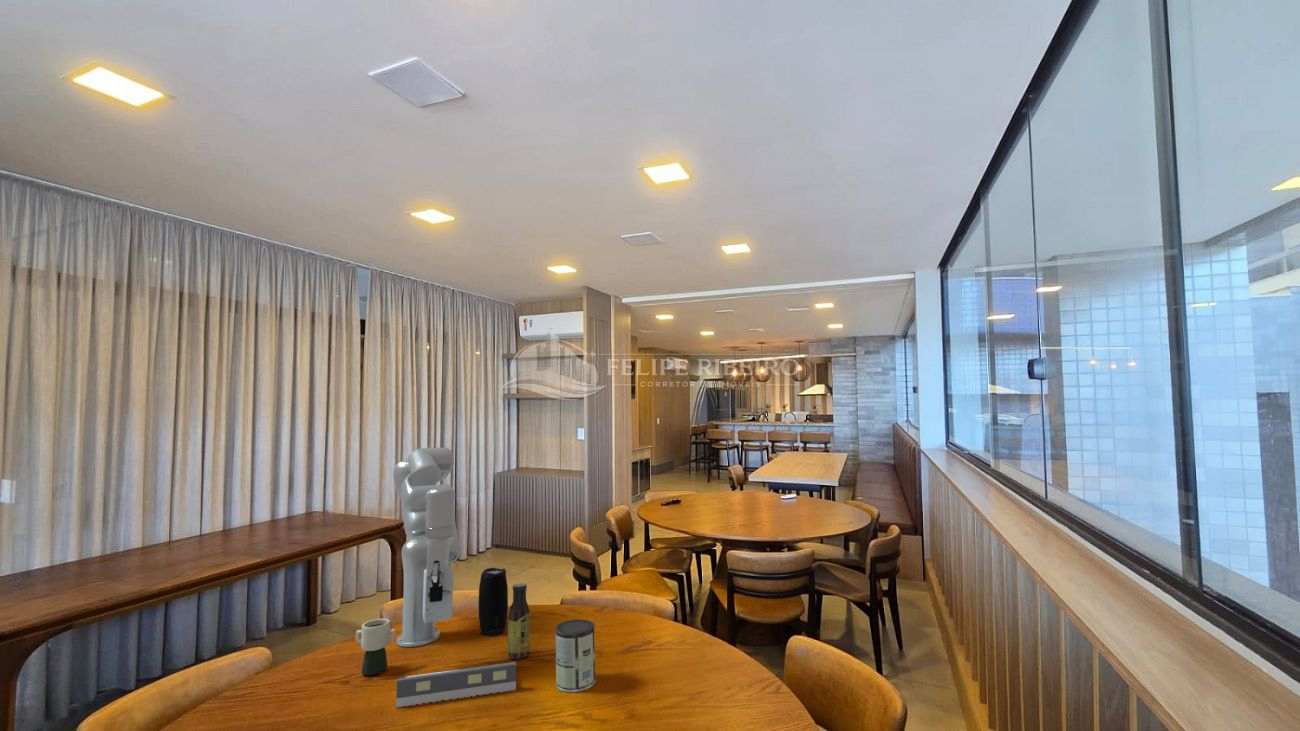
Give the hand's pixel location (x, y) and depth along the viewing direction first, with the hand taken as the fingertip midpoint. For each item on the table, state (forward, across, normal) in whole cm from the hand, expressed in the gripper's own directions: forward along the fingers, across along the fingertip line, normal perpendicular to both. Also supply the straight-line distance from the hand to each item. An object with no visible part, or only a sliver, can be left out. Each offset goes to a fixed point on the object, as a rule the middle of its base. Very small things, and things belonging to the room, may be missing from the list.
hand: (438, 595), depth 147 cm
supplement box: (+6, 0, 0) cm, 6 cm away
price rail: (+18, +17, +7) cm, 26 cm away
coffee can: (+20, +19, +36) cm, 45 cm away
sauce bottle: (+20, -3, +22) cm, 30 cm away
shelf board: (+20, +12, +7) cm, 24 cm away
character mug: (+21, -5, -17) cm, 27 cm away
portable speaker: (+21, -25, +14) cm, 36 cm away
